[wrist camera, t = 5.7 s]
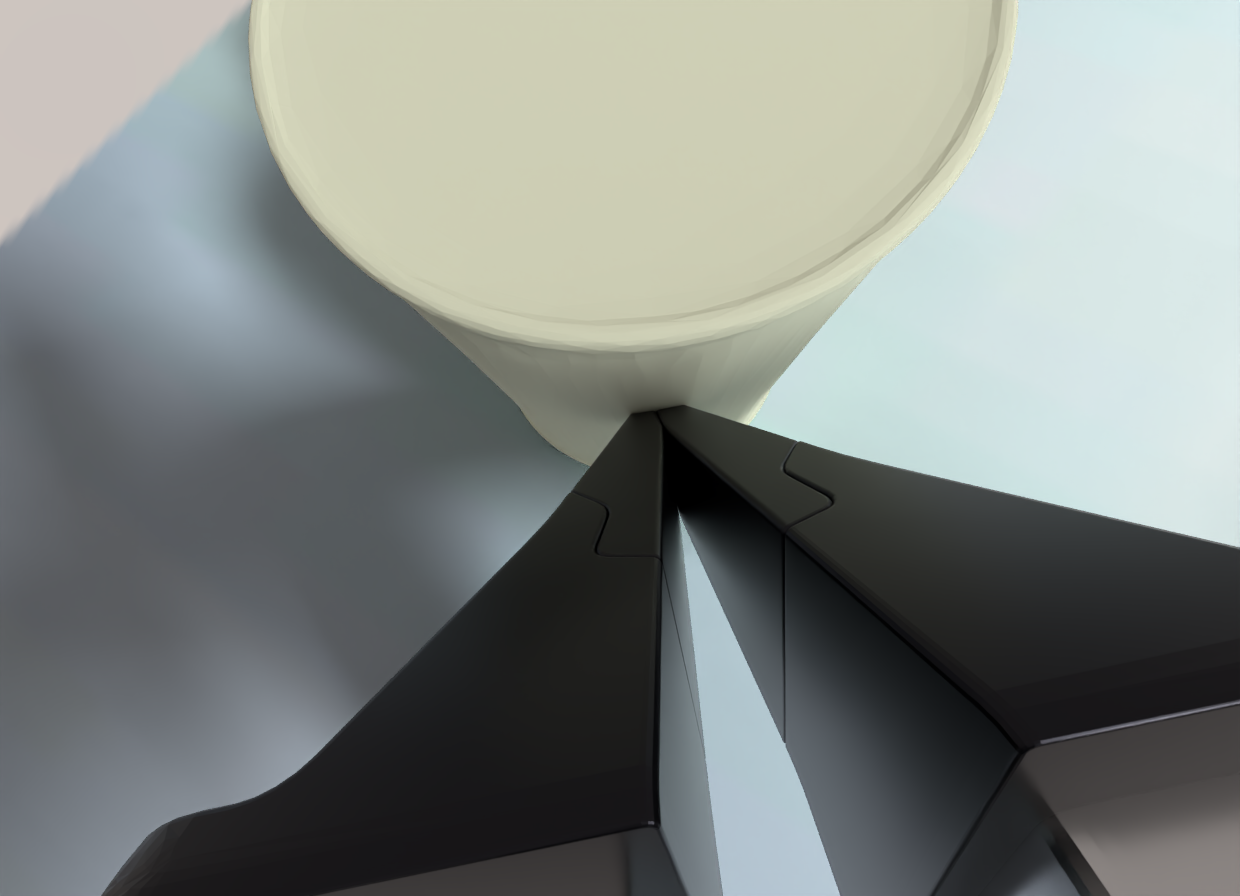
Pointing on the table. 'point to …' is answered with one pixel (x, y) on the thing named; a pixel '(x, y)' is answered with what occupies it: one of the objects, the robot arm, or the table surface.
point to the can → (625, 175)
